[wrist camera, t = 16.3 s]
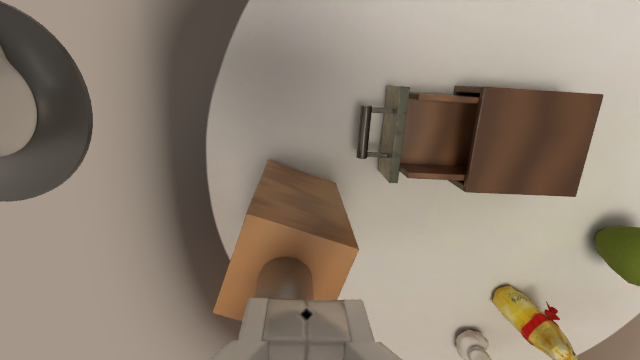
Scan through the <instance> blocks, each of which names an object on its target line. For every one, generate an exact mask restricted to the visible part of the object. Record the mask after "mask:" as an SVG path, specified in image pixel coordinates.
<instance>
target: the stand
mask: <svg viewBox="0 0 640 360" xmlns="http://www.w3.org/2000/svg"><path fill="white" fill-rule="evenodd" d="M358 251H359V248H358V245H357V242H356V239H355V237H354V234H353V231H352V228H351V225H350V222H349V219H348V217H347V214H346V211H345V208H344V205H343V202H342V200H341V197H340V194H339V191H338V188H337V185H336V183H333V182H330V181H327V180H325V179H322V178H319V177H316V176H313V175H310V174H307V173H304V172H301V171H299V170H296V169H293V168H290V167H287V166H284V165H281V164H278V163H275V162H273V161H270V160H268V162H267V164H266V167H265V169H264V172H263V174H262V177H261V179H260V182H259V184H258V187H257V189H256V192H255V194H254V197H253V199H252V201H251V204H250V206H249V209H248V211H247V214H246V217H245V220H244V223H243V226H242V229H241V232H240V235H239V238H238V240H237V243H236V246H235V249H234V252H233V255H232V258H231V261H230V264H229V267H228V270H227V273H226V276H225V279H224V282H223V285H222V288H221V291H220V294H219V297H218V300H217V302H216V306H215V308H214V311H213V313H215V314H219V315H222V316H226V317H230V318H233V319H237V320H241V321H243V318H244V313H245V309H246V305H247V301H248V299H249V298H254V295H255V290H256V285H257V281H258V276H259V273H260V271H261V269H262V268H263V267H264V266H265V265H266V264H267V263H268V262H270V261H271V260H273V259H276V258H280V257H291V258H295V259H297V260H299V261H301V262H303V263H304V264H305V265H306V266H307V267H308V268H309V270H310V272H311V275H312V280H313V296H314V300H337V298H338V296H339V294H340V292H341V289H342V287H343V285H344V282H345V280H346V278H347V276H348V273H349V271H350V269H351V267H352V264H353V262H354V260H355V257H356V255H357V253H358Z"/></svg>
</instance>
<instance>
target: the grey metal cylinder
mask: <svg viewBox="0 0 640 360" xmlns="http://www.w3.org/2000/svg"><path fill="white" fill-rule="evenodd" d="M254 298H268V299H269V298H278V299H303V300H314V296H313V280H312V275H311V272H310V270H309V268H308V267H307V266H306V265H305V264H304V263H303V262H301V261H299V260H297V259H295V258H291V257H280V258H276V259H273V260H271V261H270V262H268V263H267V264H266V265H265V266H264V267H263V268H262V269H261V271H260V273H259V276H258V281H257V285H256V290H255V295H254Z"/></svg>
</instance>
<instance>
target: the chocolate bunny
mask: <svg viewBox="0 0 640 360" xmlns="http://www.w3.org/2000/svg"><path fill="white" fill-rule="evenodd" d="M493 303H494V304H495V305H496V306H497V307H498V308H499V310H500V311H501V313H502V314H503V315H504V316H505V317H506V318H507V319H508V320H509V321H510V322H511V323H512V324H513V325H514V326H515V327H516V329H517V330H518V331H519V332H520V333H521V334H522V336H523V337H524V338H525V339H526V340H527V341H528V342H529V343H530V344H532V345H533V346H535V347H536V348H538V349H539V350H541V351H542V352H544V353H545V354H547V355H548V356H549V357H551V358H552V359H553V360H578V358H577V356H576V354H575V353H574V351H573V348H572V346H571V344H570V342H569V341H568V339H567V338H566V336H565V335H564V333H563V332H562V331H561V330H560V328H559V326H558V325H557V324H556V323H555V322H554V321H553V320H560V318H559V317H558V316H557V315H556V313H557V312H558V311H557V310H556V309H555V308H553V307H550V306H549V305H548V303H547V302H546V303H547V306H548V309H549V310H547V309H545V314H546V315H545V314H544V313H543V312H542V311H541V310H540V309H539V308H538V307H537V306H536V305H535V304H534V303H533V302H532V301H531V300H530V299H529V298H527V297H526V296H525V295H524V294H521V293H519V292H518V291H516V290H515V289H514V288H512V287H511V286H506V287H502V288H498V289H497V290H496V291H495V293H494V298H493Z"/></svg>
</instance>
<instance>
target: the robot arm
mask: <svg viewBox="0 0 640 360" xmlns="http://www.w3.org/2000/svg"><path fill="white" fill-rule="evenodd" d="M36 123H37V108H36V103H35V100H34V97H33V94H32V92H31V90H30V88H29V86H28V84H27V83H26V81H25V80H24V78H23V77H22V76H21V75H20V73H19V72H18V71H17V70H16V69H15V68H14V67H13V66H12V65H11V64H10V63H9V61H8V60H7V59H6V56H5V54H4V52H3V50H2V48H1V46H0V157H3V156H8V155H11V154H13V153H15V152H17V151H19V150H20V149H22V148H23V147H24V146H25V145H26V144H27V143H28V142H29V141H30V139H31V137H32V136H33V134H34V131H35V128H36ZM209 360H402V359H401V358H399V357H398V356H397V355H396V354H394V353H393V352H392V351H391V350H390V349H388V348H387V347H386V346H385V345H383V344H382V343H381V342H375V340H374V337H373V334H372V330H371V327H370V323H369V320H368V317H367V313H366V310H365V306H364V303H363V301H362V300H303V299H278V298H269V299H268V298H249V299H248V301H247V305H246V309H245V313H244V318H243V322H242V326H241V330H240V334H239V338H238V341H231V342H230V343H229V344H227V345H226V346H225V347H224V348H222V349H221V350H220V351H219V352H218V353H216V354H215V355H214V356H213V357H212V358H211V359H209Z"/></svg>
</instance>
